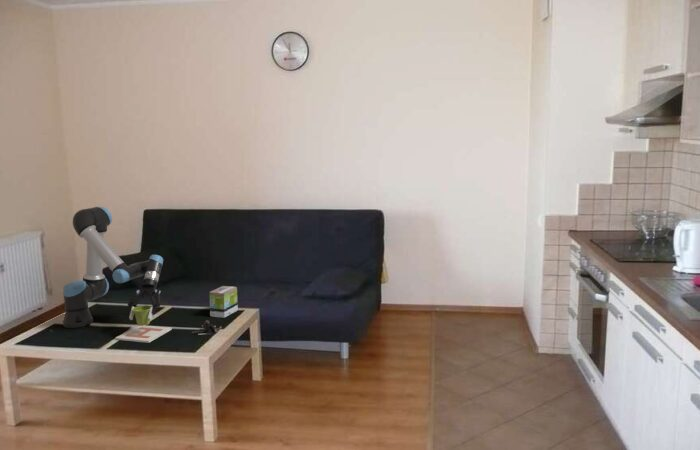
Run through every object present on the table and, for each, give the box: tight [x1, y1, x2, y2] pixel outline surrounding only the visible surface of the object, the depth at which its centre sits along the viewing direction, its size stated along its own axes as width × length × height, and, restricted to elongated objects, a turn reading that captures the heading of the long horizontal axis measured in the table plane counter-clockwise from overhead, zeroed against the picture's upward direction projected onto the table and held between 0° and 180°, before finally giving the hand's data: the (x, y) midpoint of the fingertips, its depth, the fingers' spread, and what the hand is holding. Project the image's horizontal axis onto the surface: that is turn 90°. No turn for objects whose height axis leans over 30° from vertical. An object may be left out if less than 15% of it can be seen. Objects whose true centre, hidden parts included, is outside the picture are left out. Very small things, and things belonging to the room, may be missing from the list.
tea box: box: [209, 285, 239, 319], centre depth 330 cm, size 15×10×15 cm
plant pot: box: [132, 305, 151, 326], centre depth 297 cm, size 9×9×9 cm
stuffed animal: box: [191, 320, 222, 336], centre depth 301 cm, size 12×10×12 cm
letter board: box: [114, 325, 173, 344], centre depth 298 cm, size 20×20×1 cm
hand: (140, 318), depth 294 cm, fingers closed on plant pot, 9 cm apart
